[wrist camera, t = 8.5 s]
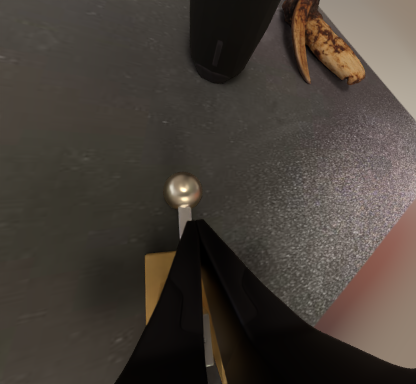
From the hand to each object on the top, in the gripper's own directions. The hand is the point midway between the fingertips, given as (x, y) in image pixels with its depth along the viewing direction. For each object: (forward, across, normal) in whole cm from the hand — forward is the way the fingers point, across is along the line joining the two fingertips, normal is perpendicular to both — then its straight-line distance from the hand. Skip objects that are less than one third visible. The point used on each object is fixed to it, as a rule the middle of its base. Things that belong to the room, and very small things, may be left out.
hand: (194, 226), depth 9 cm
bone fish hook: (+27, -22, -10) cm, 37 cm away
